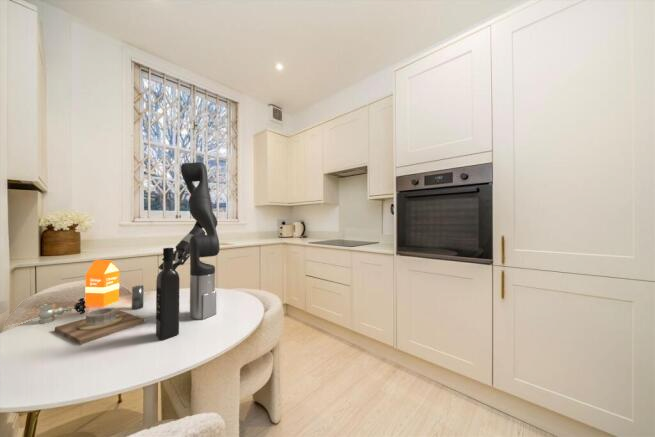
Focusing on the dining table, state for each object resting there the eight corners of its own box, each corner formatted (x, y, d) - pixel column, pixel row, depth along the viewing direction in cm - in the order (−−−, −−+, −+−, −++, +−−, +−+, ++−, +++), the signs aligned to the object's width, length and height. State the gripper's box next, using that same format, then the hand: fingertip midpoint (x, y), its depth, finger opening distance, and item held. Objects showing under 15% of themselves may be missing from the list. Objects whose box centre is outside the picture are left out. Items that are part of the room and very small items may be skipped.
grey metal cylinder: (145, 307, 107) (145, 286, 107) (134, 310, 104) (135, 288, 104) (140, 305, 109) (140, 285, 109) (129, 308, 105) (130, 287, 105)
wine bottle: (161, 341, 78) (162, 249, 78) (154, 336, 82) (155, 248, 82) (180, 334, 83) (180, 248, 83) (173, 329, 86) (174, 246, 86)
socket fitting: (144, 322, 92) (144, 308, 92) (80, 344, 76) (80, 327, 76) (117, 313, 100) (117, 300, 100) (54, 331, 84) (54, 315, 84)
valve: (40, 326, 88) (85, 315, 98) (40, 308, 88) (86, 299, 98) (37, 322, 92) (81, 311, 102) (37, 304, 92) (81, 296, 102)
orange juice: (103, 306, 108) (103, 262, 108) (84, 305, 108) (85, 261, 108) (119, 300, 115) (119, 259, 115) (102, 300, 116) (102, 258, 116)
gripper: (174, 239, 128) (150, 264, 117) (192, 240, 122) (168, 267, 111) (184, 247, 133) (162, 272, 122) (201, 249, 126) (179, 275, 116)
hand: (165, 270), depth 117 cm, fingers open, 8 cm apart
